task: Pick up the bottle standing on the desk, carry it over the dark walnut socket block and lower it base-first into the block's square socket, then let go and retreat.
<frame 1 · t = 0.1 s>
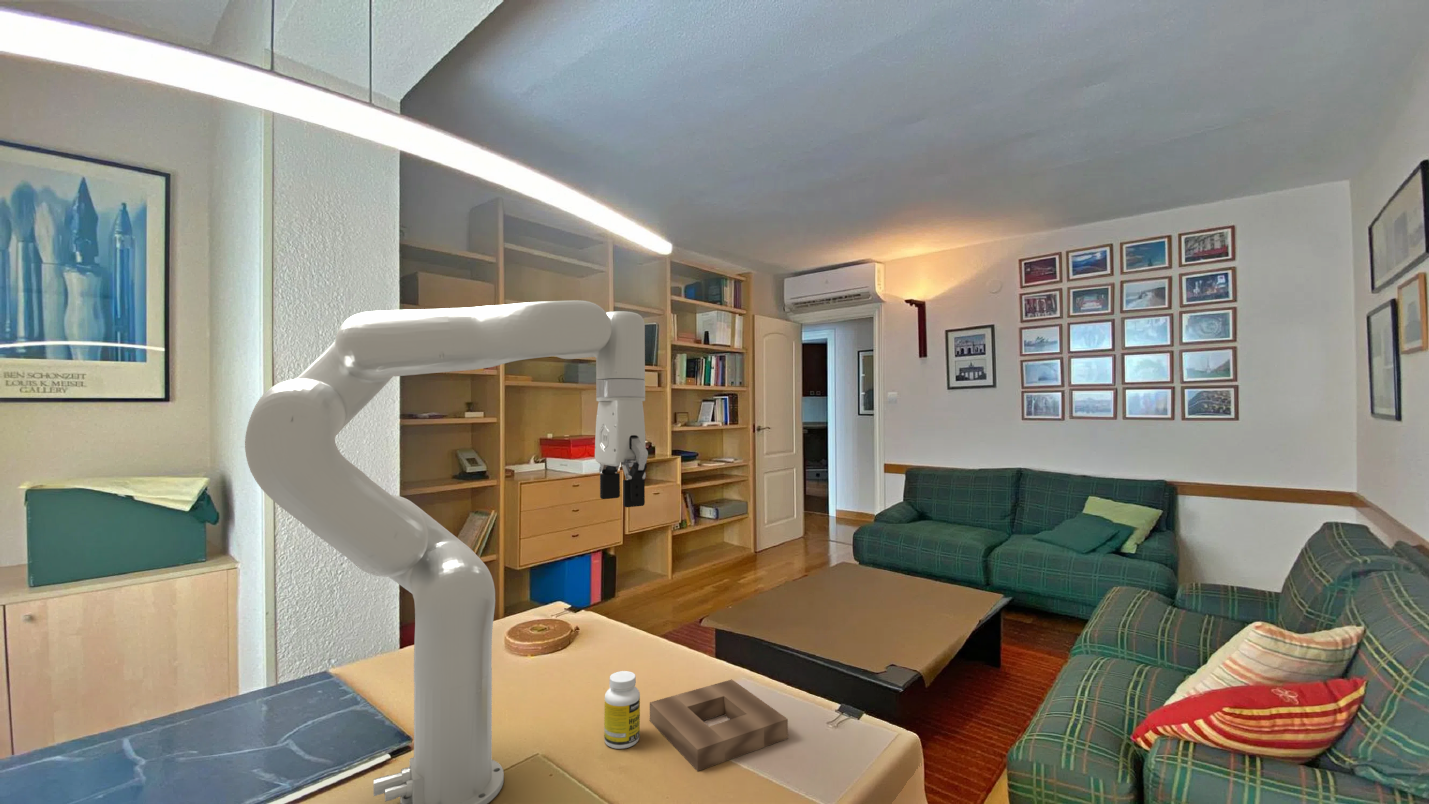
hand: (621, 502, 92), 37 cm above the table, tool pointing down, fingers open, 9 cm apart
socket block: (716, 729, 94), on the table
supplement bottle: (622, 741, 91), on the table
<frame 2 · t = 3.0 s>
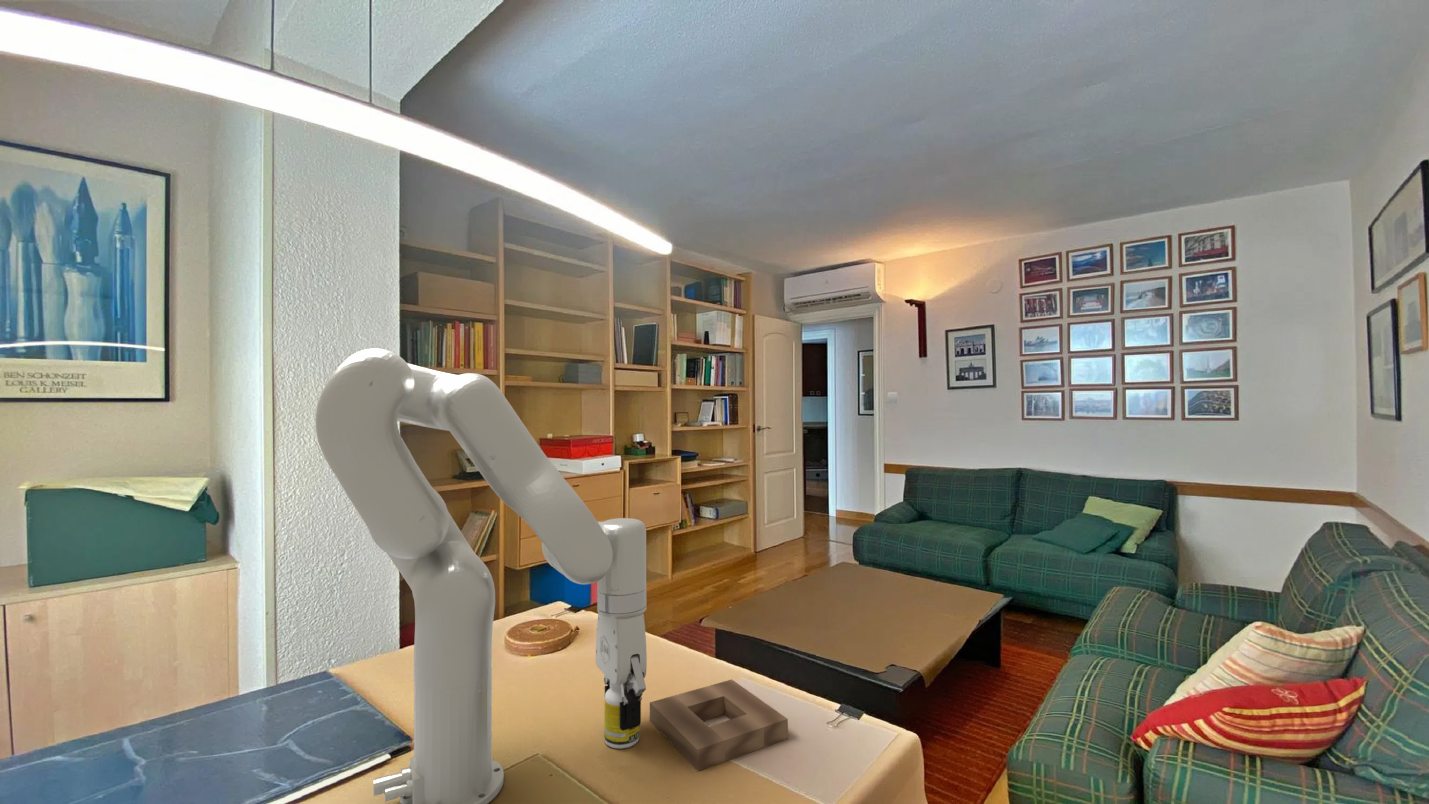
hand: (622, 716, 92), 4 cm above the table, tool pointing down, fingers closed on supplement bottle, 5 cm apart
supplement bottle: (622, 741, 91), on the table, touching gripper
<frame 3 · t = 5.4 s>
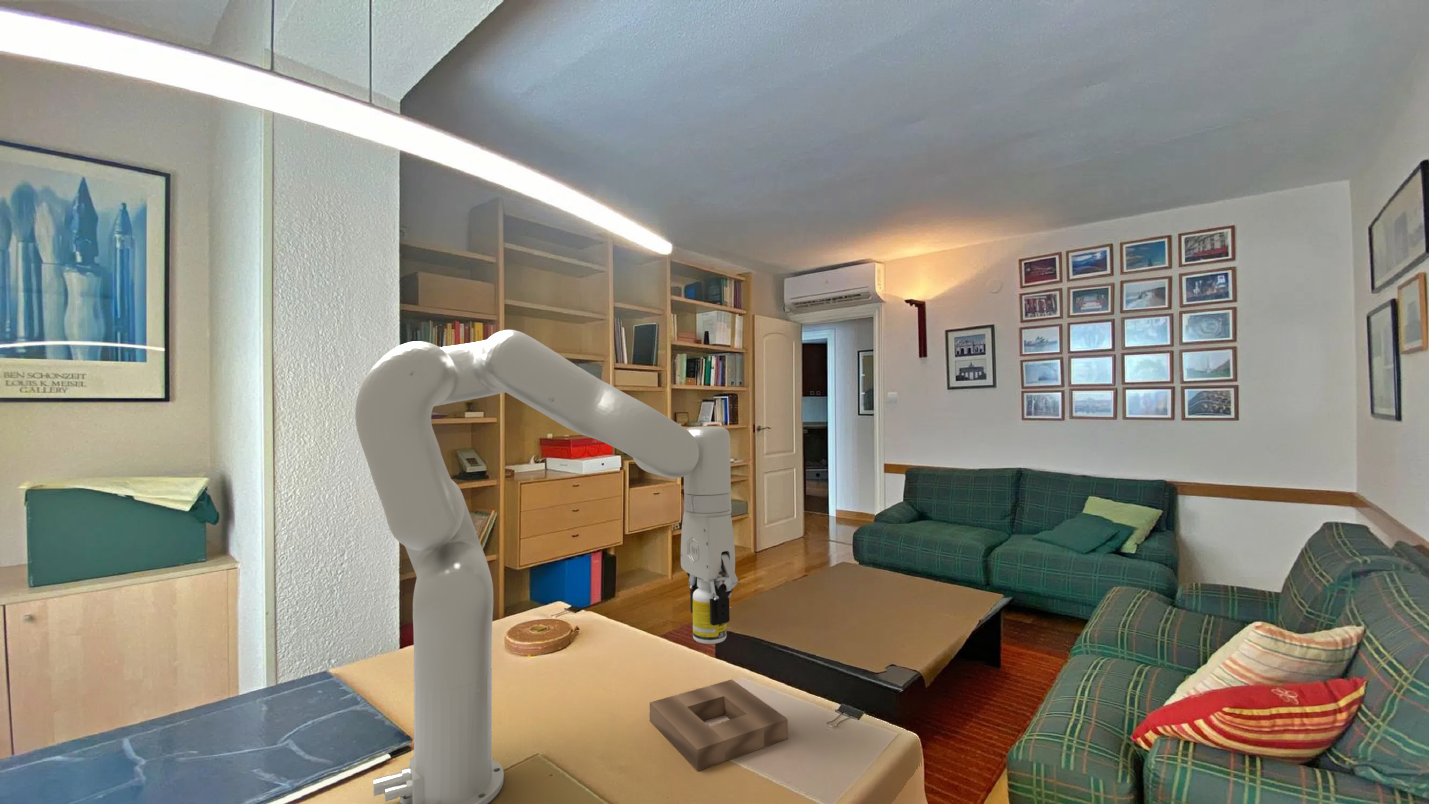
hand: (709, 616, 95), 18 cm above the table, tool pointing down, fingers closed on supplement bottle, 5 cm apart
supplement bottle: (710, 639, 95), point 14 cm above the table, touching gripper
when the fingers open (4 cm above the table, at t = 8.0 s): supplement bottle stays where it is, resting in socket block.
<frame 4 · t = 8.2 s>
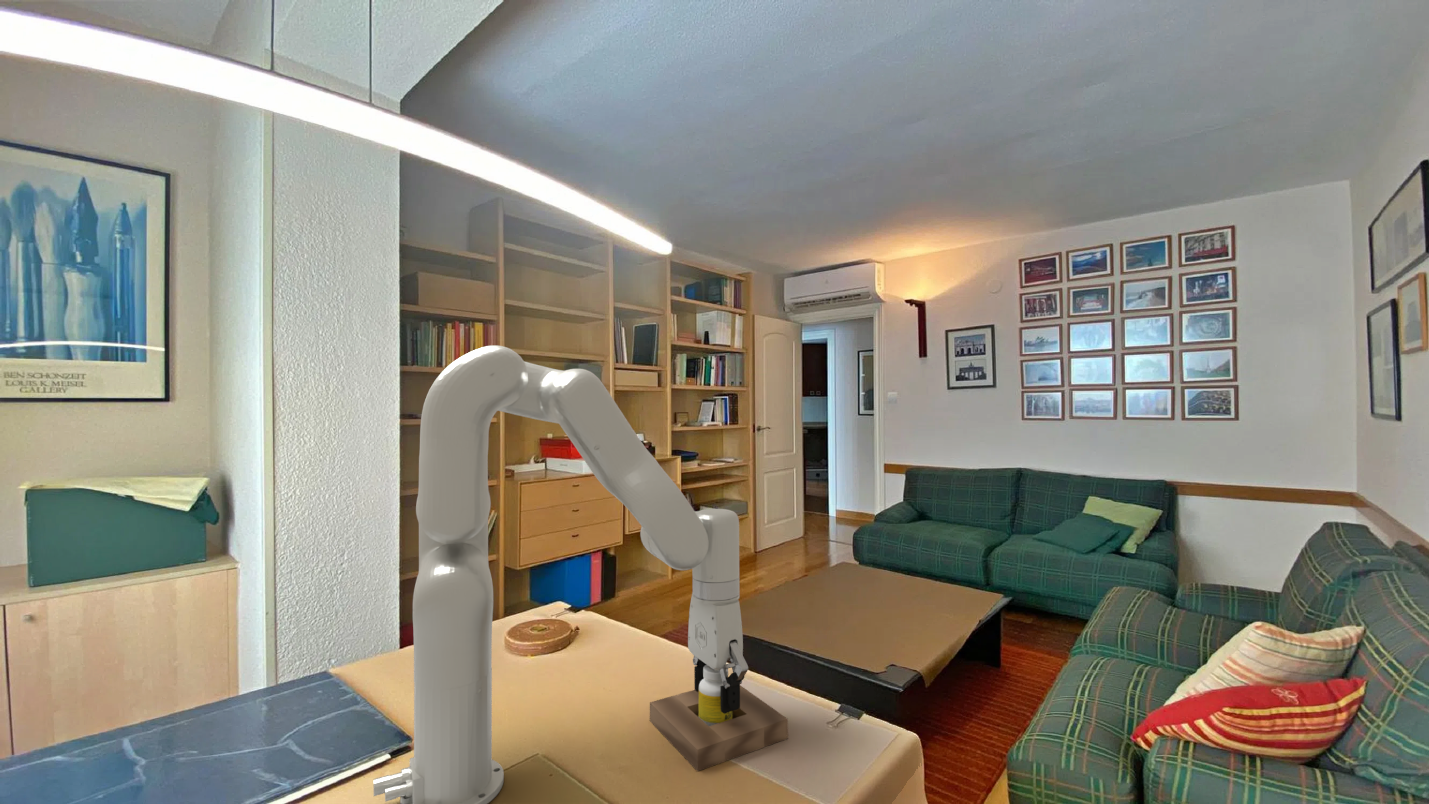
hand: (716, 698, 94), 5 cm above the table, tool pointing down, fingers open, 7 cm apart
supplement bottle: (715, 730, 94), resting in socket block
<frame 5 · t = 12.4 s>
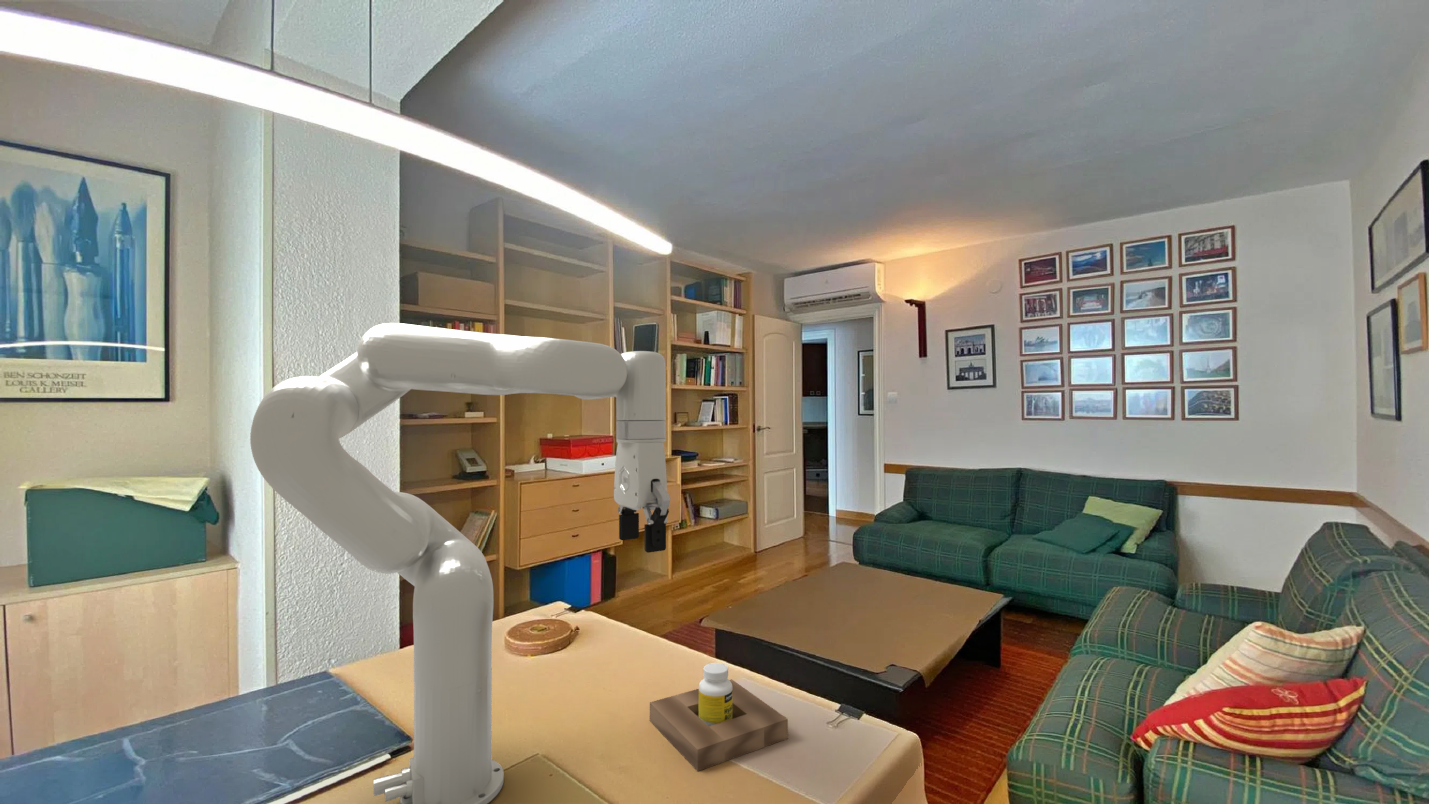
hand: (641, 544, 90), 30 cm above the table, tool pointing down, fingers open, 9 cm apart
nothing on the table moved.
at the end: supplement bottle 0.2 cm off-centre on the socket block, point 0.0 cm above the socket block's base; supplement bottle tilted 0°; the gripper is holding nothing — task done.
